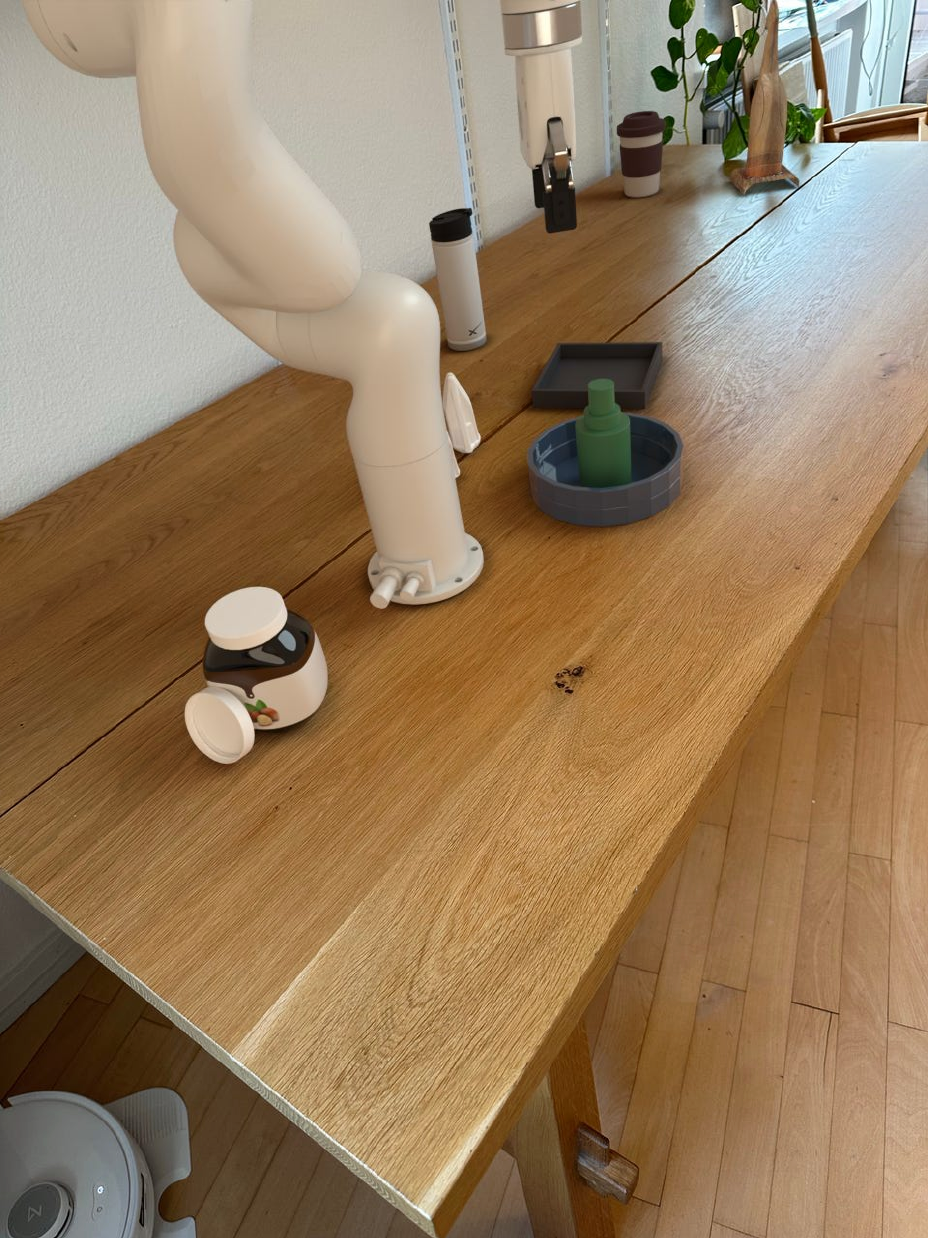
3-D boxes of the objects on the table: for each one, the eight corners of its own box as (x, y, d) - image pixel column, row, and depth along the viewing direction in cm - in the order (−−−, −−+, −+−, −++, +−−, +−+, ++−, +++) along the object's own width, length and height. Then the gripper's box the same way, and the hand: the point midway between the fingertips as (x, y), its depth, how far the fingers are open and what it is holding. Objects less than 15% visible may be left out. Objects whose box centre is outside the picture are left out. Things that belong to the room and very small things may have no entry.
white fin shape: (460, 437, 116) (447, 358, 109) (489, 440, 114) (478, 360, 107) (421, 485, 108) (404, 403, 101) (451, 489, 106) (436, 406, 99)
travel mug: (485, 350, 136) (467, 216, 124) (444, 352, 138) (422, 220, 125) (492, 333, 141) (475, 202, 128) (452, 336, 142) (432, 206, 130)
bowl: (670, 534, 93) (670, 494, 90) (514, 524, 98) (509, 486, 95) (691, 451, 105) (692, 413, 102) (551, 446, 111) (547, 410, 107)
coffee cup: (612, 192, 191) (610, 115, 181) (655, 182, 192) (655, 105, 182) (627, 203, 183) (625, 123, 174) (672, 193, 184) (672, 113, 174)
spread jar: (340, 673, 84) (309, 578, 76) (321, 765, 75) (283, 667, 67) (220, 683, 85) (178, 590, 78) (188, 773, 76) (138, 679, 69)
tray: (645, 411, 114) (644, 391, 112) (533, 409, 119) (531, 390, 117) (662, 360, 125) (662, 341, 123) (559, 360, 130) (557, 342, 128)
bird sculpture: (781, 173, 184) (796, -12, 163) (801, 187, 175) (819, -7, 154) (728, 182, 184) (736, -1, 164) (745, 197, 175) (756, 5, 155)
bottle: (626, 499, 98) (623, 397, 90) (574, 496, 100) (567, 396, 92) (635, 471, 103) (633, 371, 95) (585, 469, 105) (579, 371, 97)
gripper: (496, 27, 90) (513, 202, 101) (512, 48, 77) (529, 247, 88) (567, 14, 90) (577, 191, 101) (596, 33, 77) (603, 235, 87)
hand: (555, 217), depth 94 cm, fingers open, 9 cm apart
